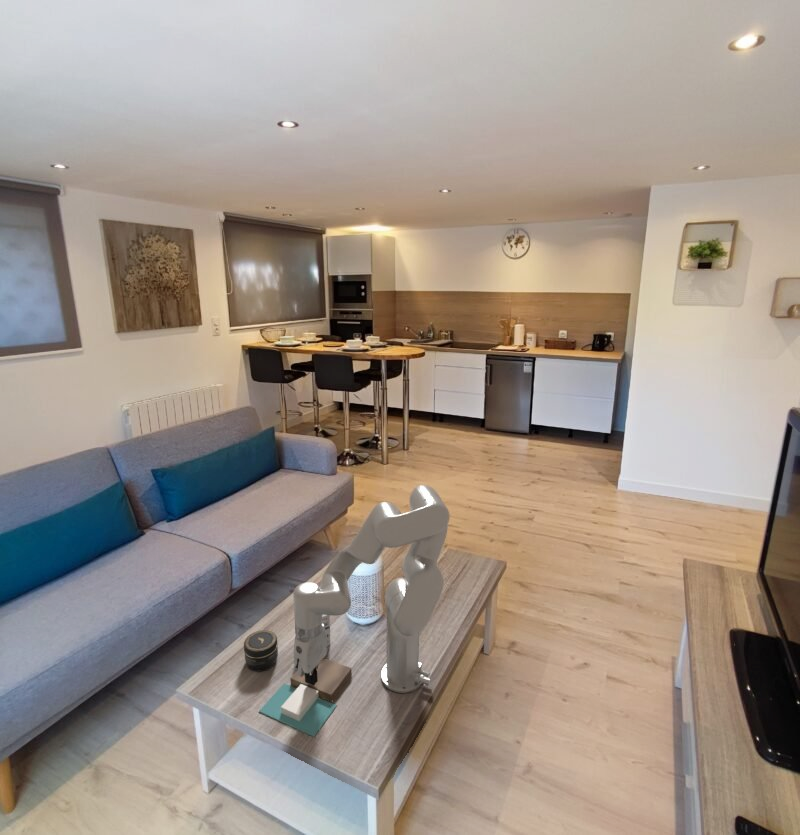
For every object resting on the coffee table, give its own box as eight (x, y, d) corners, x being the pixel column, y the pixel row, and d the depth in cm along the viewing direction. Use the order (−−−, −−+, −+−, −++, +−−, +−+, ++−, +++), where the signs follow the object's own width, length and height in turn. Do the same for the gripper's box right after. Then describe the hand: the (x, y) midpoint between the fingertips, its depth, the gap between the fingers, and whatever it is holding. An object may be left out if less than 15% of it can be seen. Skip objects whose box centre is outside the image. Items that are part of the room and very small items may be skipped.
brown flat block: (351, 675, 147) (351, 668, 146) (331, 702, 137) (331, 694, 137) (312, 660, 153) (312, 653, 152) (290, 685, 143) (290, 678, 142)
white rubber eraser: (318, 696, 139) (318, 691, 138) (299, 721, 131) (298, 715, 130) (301, 689, 141) (300, 683, 141) (281, 713, 133) (280, 707, 133)
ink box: (306, 655, 155) (305, 622, 152) (300, 645, 159) (298, 614, 156) (331, 644, 160) (330, 613, 157) (324, 636, 164) (323, 605, 161)
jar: (261, 645, 159) (260, 625, 157) (285, 656, 154) (284, 635, 152) (238, 665, 150) (236, 644, 148) (262, 677, 146) (261, 656, 144)
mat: (336, 706, 136) (336, 705, 136) (314, 736, 127) (313, 736, 127) (284, 684, 143) (284, 683, 143) (259, 711, 134) (259, 710, 134)
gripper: (303, 648, 127) (306, 706, 132) (335, 614, 140) (336, 668, 145) (280, 639, 130) (284, 696, 135) (313, 607, 143) (315, 660, 148)
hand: (311, 681), depth 140 cm, fingers closed
